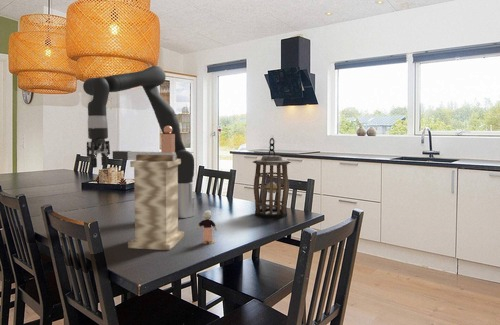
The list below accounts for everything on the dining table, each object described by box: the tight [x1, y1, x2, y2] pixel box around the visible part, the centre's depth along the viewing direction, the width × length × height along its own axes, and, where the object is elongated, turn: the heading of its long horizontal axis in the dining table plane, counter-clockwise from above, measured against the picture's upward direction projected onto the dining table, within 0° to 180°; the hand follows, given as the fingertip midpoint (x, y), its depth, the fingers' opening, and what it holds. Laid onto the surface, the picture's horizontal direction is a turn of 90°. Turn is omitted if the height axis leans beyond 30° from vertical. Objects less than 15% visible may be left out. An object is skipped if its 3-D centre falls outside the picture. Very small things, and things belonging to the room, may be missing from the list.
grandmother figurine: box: [197, 210, 218, 245], centre depth 146 cm, size 8×4×13 cm, turn 92°
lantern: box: [252, 137, 292, 220], centre depth 194 cm, size 19×19×40 cm
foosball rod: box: [112, 126, 176, 161], centre depth 144 cm, size 24×4×13 cm, turn 83°
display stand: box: [127, 155, 185, 251], centre depth 145 cm, size 16×18×34 cm
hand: (99, 166), depth 156 cm, fingers open, 8 cm apart
